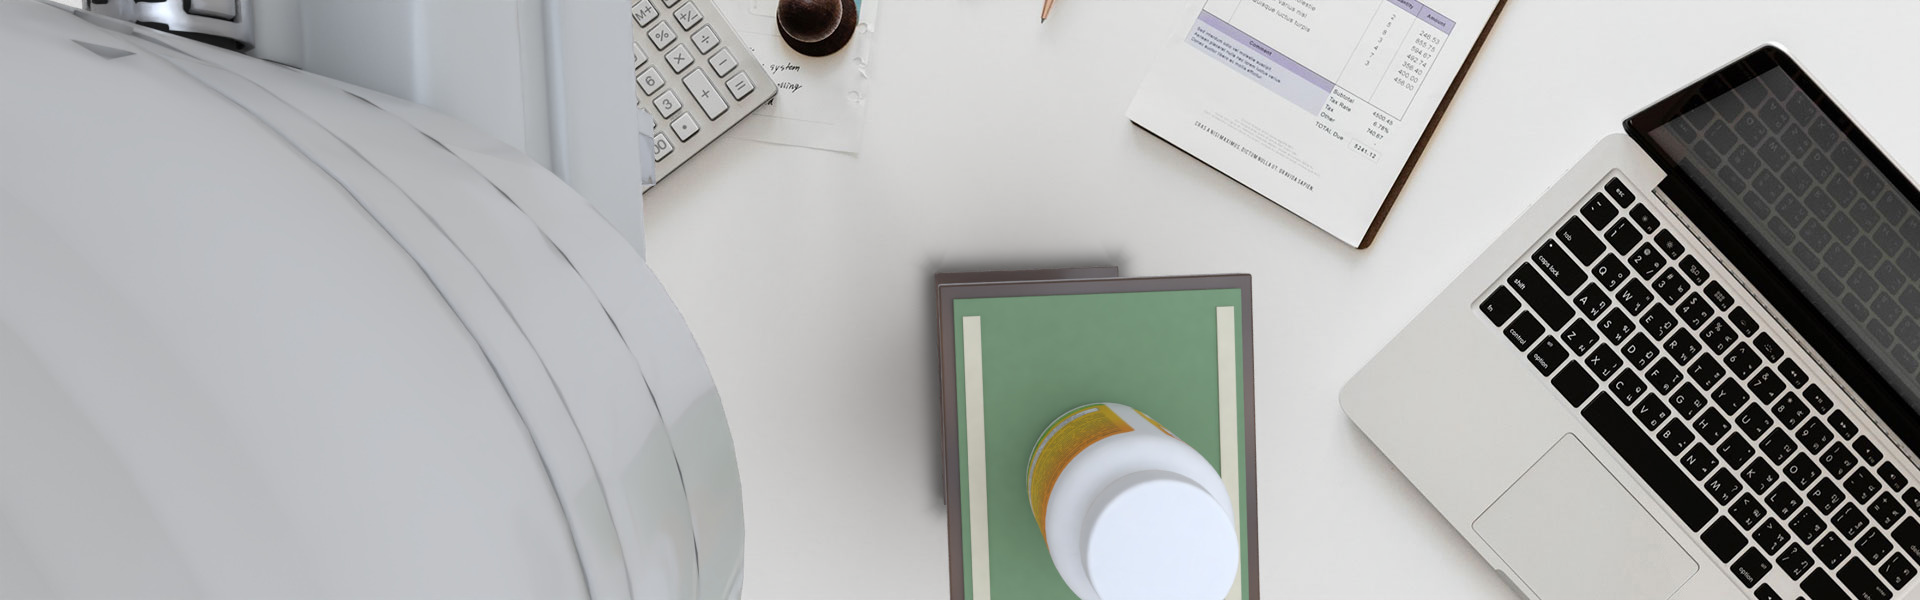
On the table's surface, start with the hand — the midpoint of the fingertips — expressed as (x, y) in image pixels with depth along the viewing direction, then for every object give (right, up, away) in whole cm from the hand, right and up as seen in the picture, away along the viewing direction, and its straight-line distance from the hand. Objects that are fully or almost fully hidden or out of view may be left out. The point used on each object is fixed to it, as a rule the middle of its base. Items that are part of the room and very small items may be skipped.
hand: (629, 376), depth 22 cm
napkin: (+12, -5, +15) cm, 20 cm away
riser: (+11, -3, +43) cm, 44 cm away
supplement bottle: (+12, -5, +15) cm, 19 cm away
